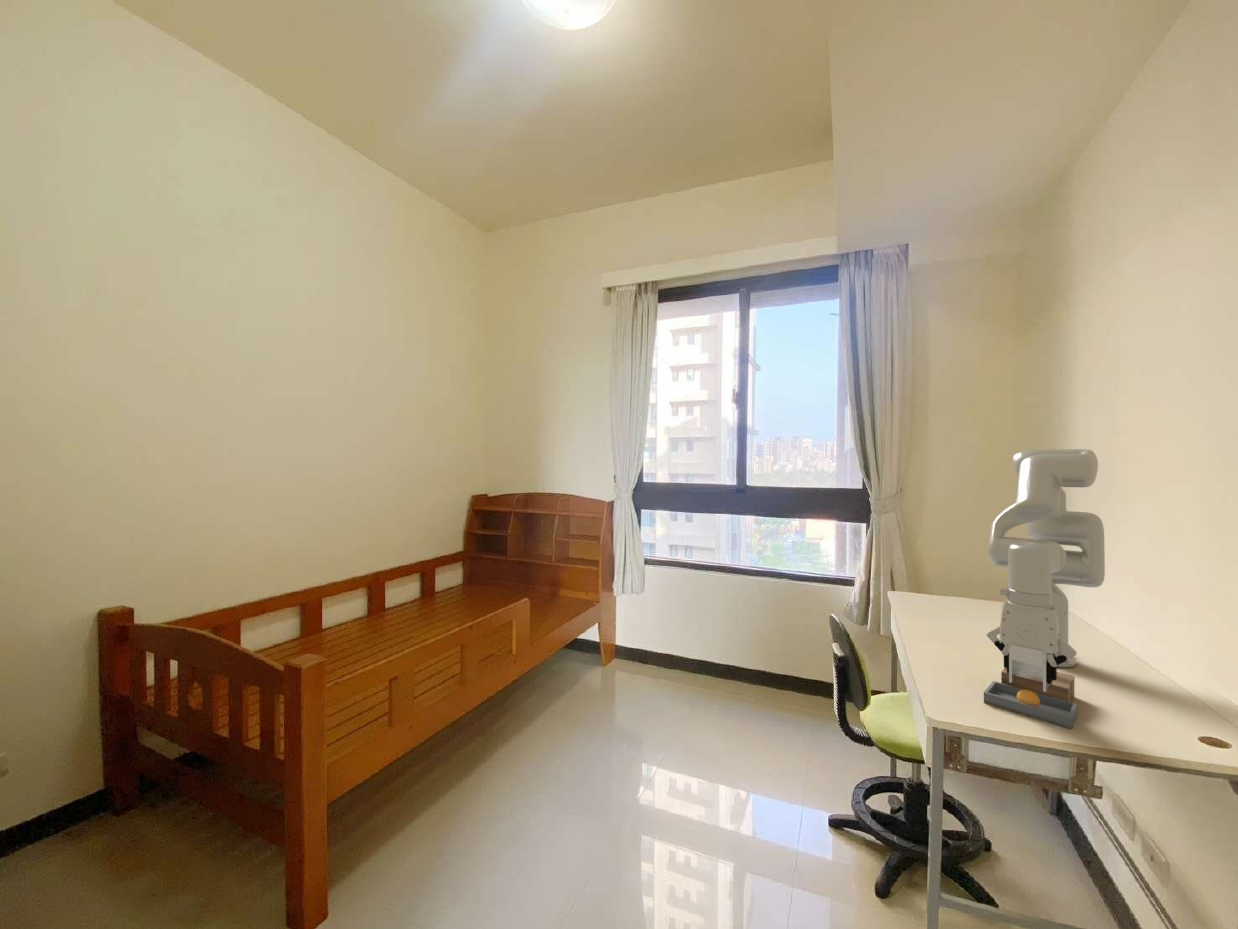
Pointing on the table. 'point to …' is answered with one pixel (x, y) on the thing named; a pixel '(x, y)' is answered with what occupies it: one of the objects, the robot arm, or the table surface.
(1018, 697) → the ball
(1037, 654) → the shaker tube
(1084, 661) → the table surface
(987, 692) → the tray
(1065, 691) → the stand
